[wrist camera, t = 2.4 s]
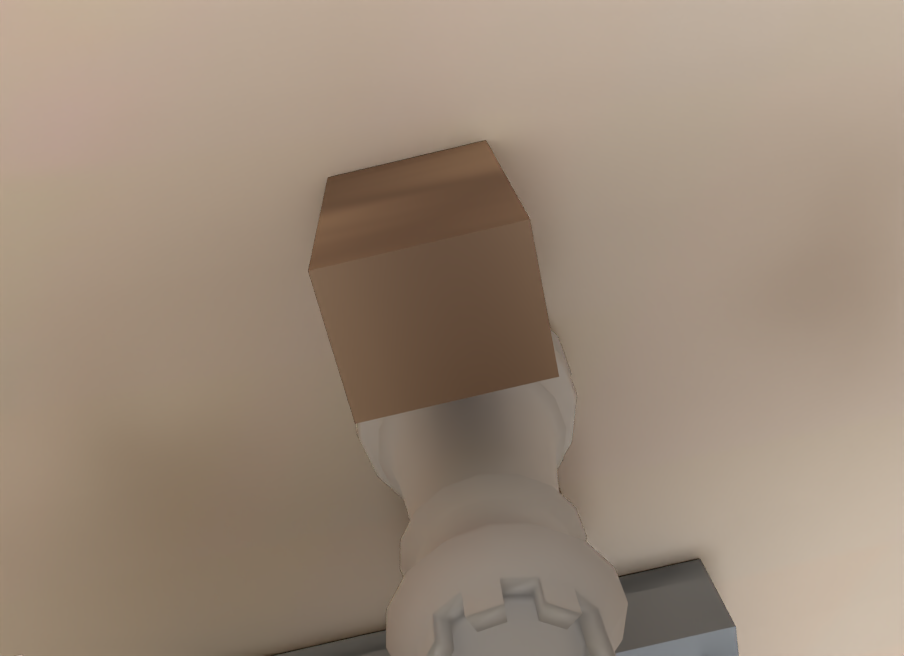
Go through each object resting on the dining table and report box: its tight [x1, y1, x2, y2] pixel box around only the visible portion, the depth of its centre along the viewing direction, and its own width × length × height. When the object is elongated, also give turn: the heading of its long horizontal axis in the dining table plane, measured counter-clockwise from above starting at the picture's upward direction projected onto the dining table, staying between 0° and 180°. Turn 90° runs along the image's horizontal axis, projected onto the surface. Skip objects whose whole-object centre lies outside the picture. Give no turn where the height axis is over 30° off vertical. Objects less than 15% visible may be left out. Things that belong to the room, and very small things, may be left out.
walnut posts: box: [308, 141, 562, 495], centre depth 16 cm, size 3×10×5 cm, turn 12°
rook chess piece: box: [357, 329, 628, 656], centre depth 14 cm, size 4×4×8 cm
